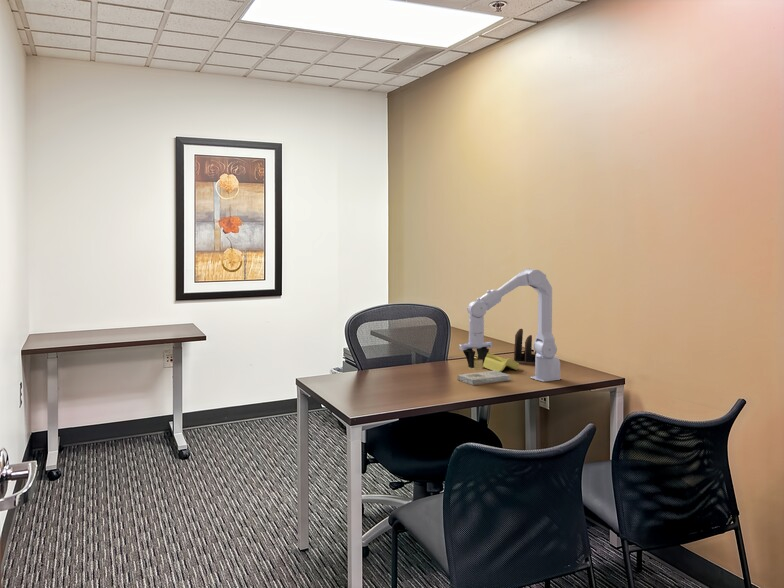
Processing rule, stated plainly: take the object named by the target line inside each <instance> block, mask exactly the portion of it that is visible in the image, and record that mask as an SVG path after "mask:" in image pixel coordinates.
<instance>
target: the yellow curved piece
mask: <svg viewBox="0 0 784 588" xmlns="http://www.w3.org/2000/svg"><path fill="white" fill-rule="evenodd" d="M476 357H478V354H477V353H476ZM519 367H520V364H519V363H518V362H516V361H514V359H512V358H510V357H508V358H504V357H500V356H498V355H496V354H493V353H490V352H488V353H487V355H486V357H485V360H484V364H483V368H485V369H487V370H489V371H494V370H495V371H498V372H503V371H504V370H505V368H508V369H511V370H515V371H518V368H519Z"/></svg>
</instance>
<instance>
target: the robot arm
mask: <svg viewBox="0 0 784 588" xmlns="http://www.w3.org/2000/svg"><path fill="white" fill-rule="evenodd" d="M526 286H529V287H531V288H533V289H534V290H535V292H537V293H538V296H537V299H538V301H537V305H538V307H537V315H538V316H537V333H536V335H535V341H534V343H533V346H532V348H533V349H534V353H535V352H536V355H535V356H536V357H535V365H534V375H533V376H530V377H529V378H530V379H532V380H536V381H539V382H543V383H545V382H552V381H553V382H554V381H559V380H560V379H561V380H562V377H561V361H560V358H559V357H557V356H556V354H557V351H558V348H557V345H556V343H555V336H554V334H553V333H552V332H553V329H552V327H553V287H552V285H551V283H550V281H549V280H548V278H547V275H546V274H545V273H544V272H543V271H541V269H540V270H539V269H532V268H526V269H524V270H523V271H520V272H519V273H517V274H516V275H514V277H512V278H510V280H508V281H507V282H505V283H504V284H503V285H501V286H500V287H499V288H497V289H491V290H490V289H487V290H486V293H484V294H483V295H481V296H480V297H477V298H476V300H475V301H474V300H473V301H471V302H469V304H468V307H467V308H466V309H467V310H466V311H467V313H468V314H469V315H468V317H469V320H468V342H467V343H463V344H462V343H461V344H459V345H458V349H459V351H463V352H462V353H463V354H464V355H465V358H466V360H467V367H468V366H469V368H473V365H474V357H475V355H477V354H478V359H482V360H483V364H484V360H485V357H486V355H487V353H490V352H489V351H490V349H489V348H493V346H494V345H493V344H494V343H493V342H491V341H485V342H484V340H485V339H484V338H485V337H484V336H485V335H484V334H485V333H484V331H485V329H484V328H485V320H484V319H485V315H486V314H487V311H489V310H490V309H492V308H493V307H495V306H496V305H497V304H499V303H500V302H502V298H503V297H504V296H505V295H507V294H509V293H510V292H512V291H514V290H515V289H517V288H518V287H526ZM469 368H468V369H469Z"/></svg>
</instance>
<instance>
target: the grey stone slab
mask: <svg viewBox="0 0 784 588" xmlns="http://www.w3.org/2000/svg"><path fill="white" fill-rule="evenodd" d="M457 380H458V381H459V380H460V382H463V383H465V384H469V385H471V386H475V385H484V384H485V385H486V384H493V383H501V382H506V381H507V382H508V381H511V375H510V374H508V373H505V372H503V371H501V372H498V371H495V370H494V371H493V370H488V371H486V370H485V371H479V372H471V373H463V374H457Z"/></svg>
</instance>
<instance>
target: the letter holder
mask: <svg viewBox="0 0 784 588" xmlns="http://www.w3.org/2000/svg"><path fill="white" fill-rule="evenodd" d="M523 335H524V330H523V328H519V329H518V330H517V331H516V333H515V335H514V353H513V360H514V361H516V362H518V363H521V364H520V365H532V364H535V357H536V356H535V355H536V352H535V351H534V353H532V351H533V350H532V349H533V346H532V345H533V344H532V343H533V335H531V334H530V335H528V336H527V337H526V339H525V341H524V351H523ZM522 352H523V353H522Z"/></svg>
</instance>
